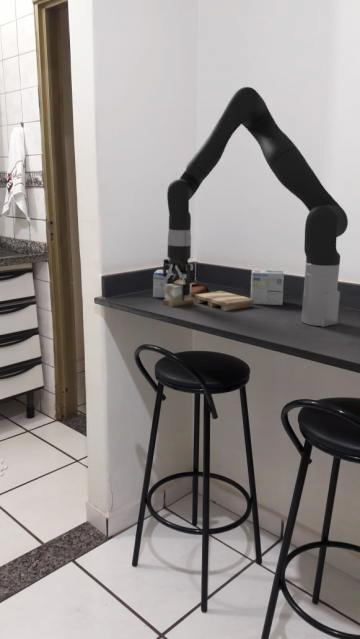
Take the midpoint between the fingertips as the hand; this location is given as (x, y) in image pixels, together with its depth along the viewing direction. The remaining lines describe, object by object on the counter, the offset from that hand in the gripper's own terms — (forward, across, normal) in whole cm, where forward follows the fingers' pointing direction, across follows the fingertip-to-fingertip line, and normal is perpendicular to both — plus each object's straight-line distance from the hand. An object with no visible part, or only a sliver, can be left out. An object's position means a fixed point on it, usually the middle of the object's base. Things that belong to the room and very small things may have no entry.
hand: (178, 292), depth 170 cm
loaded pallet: (+4, 0, 0) cm, 4 cm away
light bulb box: (+4, -15, -26) cm, 30 cm away
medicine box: (+4, +14, -3) cm, 15 cm away
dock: (+3, -9, -12) cm, 15 cm away
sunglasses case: (+4, +14, -14) cm, 20 cm away
